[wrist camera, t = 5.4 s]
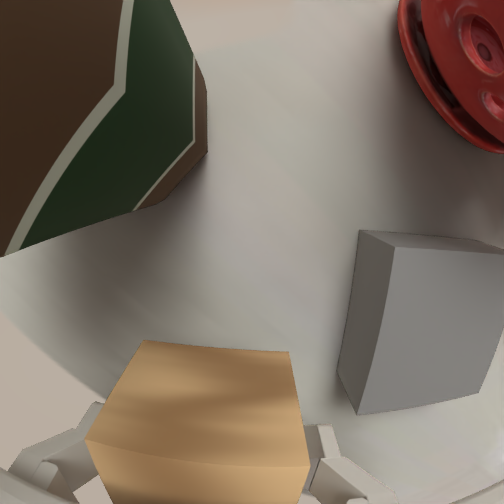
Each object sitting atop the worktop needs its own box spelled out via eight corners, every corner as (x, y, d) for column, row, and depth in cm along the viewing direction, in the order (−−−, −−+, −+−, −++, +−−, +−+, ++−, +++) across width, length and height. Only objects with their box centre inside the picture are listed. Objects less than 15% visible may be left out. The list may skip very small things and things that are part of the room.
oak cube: (288, 351, 10) (310, 466, 5) (273, 447, 11) (280, 545, 7) (143, 339, 10) (84, 438, 5) (156, 436, 11) (126, 528, 6)
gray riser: (476, 240, 15) (521, 256, 11) (446, 360, 17) (478, 392, 13) (359, 229, 15) (395, 246, 11) (336, 370, 17) (356, 415, 13)
